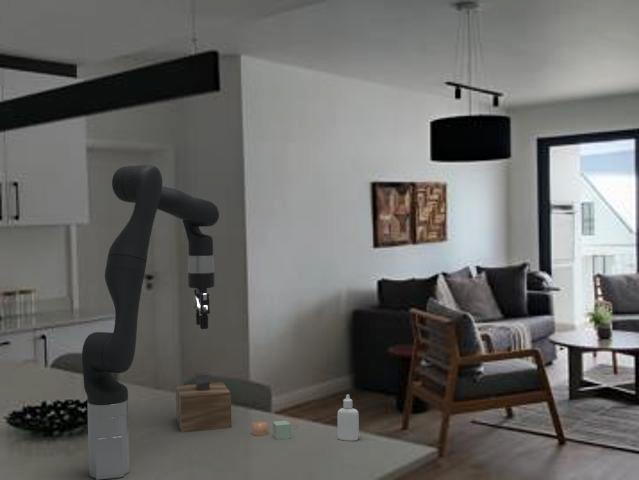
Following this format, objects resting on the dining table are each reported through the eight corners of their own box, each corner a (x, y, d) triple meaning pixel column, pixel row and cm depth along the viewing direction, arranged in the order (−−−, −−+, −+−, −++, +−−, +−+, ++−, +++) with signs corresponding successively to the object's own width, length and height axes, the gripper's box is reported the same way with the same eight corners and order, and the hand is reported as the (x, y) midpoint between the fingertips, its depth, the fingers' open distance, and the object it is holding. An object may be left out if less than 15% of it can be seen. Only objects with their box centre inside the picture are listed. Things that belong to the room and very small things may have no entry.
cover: (231, 427, 209) (230, 377, 208) (181, 432, 204) (180, 380, 204) (223, 414, 222) (222, 367, 221) (176, 419, 218) (175, 370, 217)
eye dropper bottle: (346, 435, 200) (345, 391, 200) (361, 439, 196) (361, 395, 196) (335, 438, 197) (334, 394, 197) (350, 443, 193) (349, 398, 193)
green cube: (291, 438, 198) (290, 424, 198) (276, 440, 197) (276, 425, 196) (287, 434, 202) (286, 420, 202) (273, 436, 200) (272, 421, 200)
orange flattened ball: (269, 435, 201) (269, 424, 201) (253, 437, 200) (253, 426, 200) (266, 431, 205) (265, 420, 205) (250, 432, 204) (250, 421, 204)
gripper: (218, 272, 206) (218, 329, 207) (210, 269, 220) (211, 322, 220) (191, 273, 204) (192, 331, 204) (185, 269, 218) (186, 324, 218)
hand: (202, 326), depth 212 cm, fingers open, 8 cm apart
